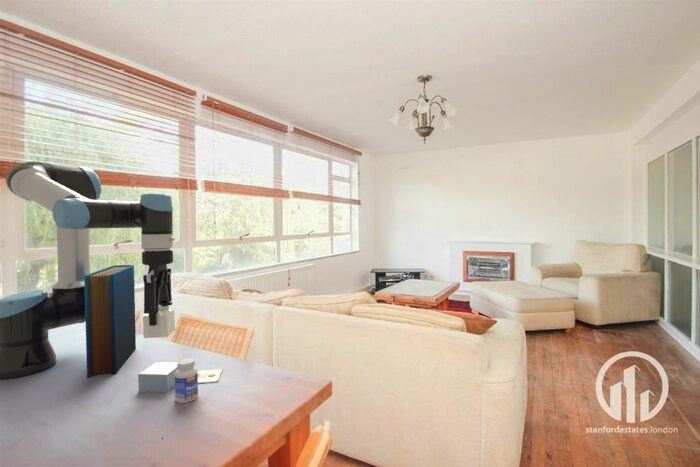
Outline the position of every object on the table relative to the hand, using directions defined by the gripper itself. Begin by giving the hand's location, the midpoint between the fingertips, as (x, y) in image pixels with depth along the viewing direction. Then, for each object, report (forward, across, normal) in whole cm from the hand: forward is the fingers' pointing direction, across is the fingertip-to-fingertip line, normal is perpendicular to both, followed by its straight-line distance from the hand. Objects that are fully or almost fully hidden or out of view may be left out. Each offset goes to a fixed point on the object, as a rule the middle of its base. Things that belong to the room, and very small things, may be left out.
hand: (159, 332), depth 96 cm
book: (+15, +21, +22) cm, 34 cm away
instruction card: (+15, +4, -10) cm, 18 cm away
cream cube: (0, 0, 0) cm, 0 cm away
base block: (+15, 0, 0) cm, 15 cm away
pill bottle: (+15, -8, -9) cm, 20 cm away
